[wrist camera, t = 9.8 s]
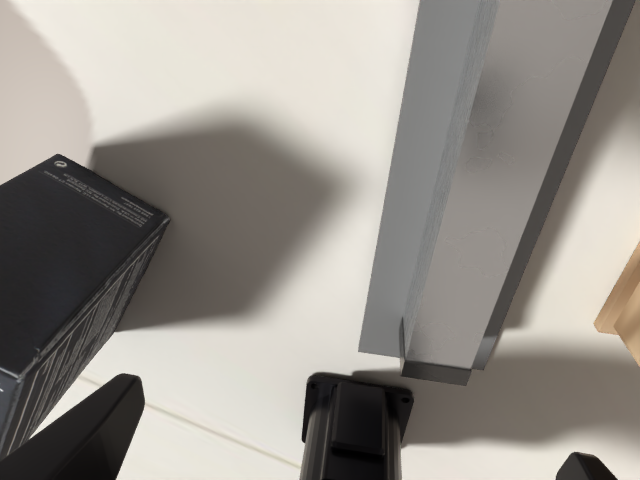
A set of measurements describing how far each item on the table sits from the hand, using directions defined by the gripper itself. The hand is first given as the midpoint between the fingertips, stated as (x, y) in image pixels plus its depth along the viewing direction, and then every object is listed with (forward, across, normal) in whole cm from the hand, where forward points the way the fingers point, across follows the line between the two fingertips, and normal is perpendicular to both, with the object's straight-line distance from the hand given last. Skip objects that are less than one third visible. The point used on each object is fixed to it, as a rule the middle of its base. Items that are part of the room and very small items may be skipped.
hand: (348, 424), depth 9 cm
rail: (+12, -4, -3) cm, 13 cm away
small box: (+13, +14, +6) cm, 20 cm away
